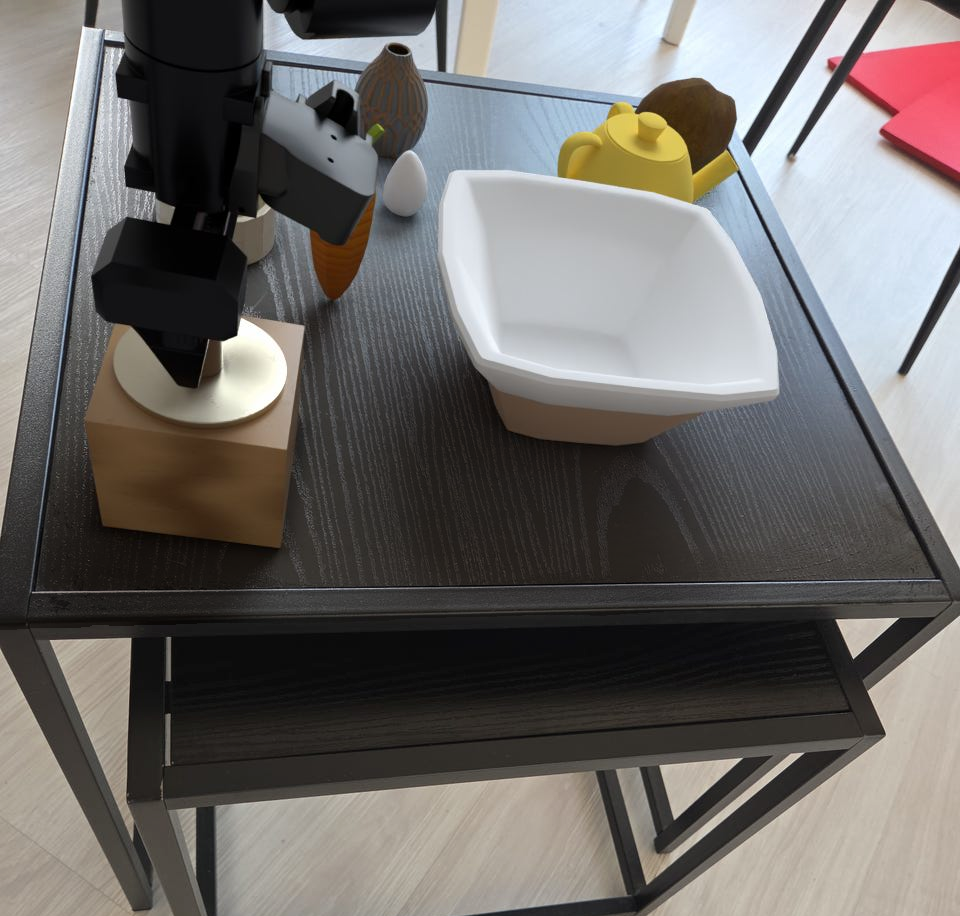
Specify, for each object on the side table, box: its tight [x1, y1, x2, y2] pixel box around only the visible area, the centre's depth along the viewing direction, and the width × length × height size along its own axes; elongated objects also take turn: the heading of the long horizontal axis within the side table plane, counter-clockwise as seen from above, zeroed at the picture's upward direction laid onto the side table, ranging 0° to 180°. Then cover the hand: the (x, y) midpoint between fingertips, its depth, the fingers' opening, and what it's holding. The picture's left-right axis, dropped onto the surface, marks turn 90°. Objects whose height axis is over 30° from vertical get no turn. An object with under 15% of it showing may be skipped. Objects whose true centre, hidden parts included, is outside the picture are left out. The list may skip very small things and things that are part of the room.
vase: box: [353, 41, 429, 159], centre depth 86 cm, size 7×7×9 cm
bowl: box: [437, 169, 780, 447], centre depth 71 cm, size 24×25×11 cm
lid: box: [113, 318, 287, 429], centre depth 54 cm, size 10×10×4 cm
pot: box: [154, 195, 277, 266], centre depth 75 cm, size 9×9×4 cm
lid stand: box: [83, 314, 306, 549], centre depth 59 cm, size 11×11×9 cm
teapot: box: [556, 101, 739, 204], centre depth 85 cm, size 14×14×11 cm
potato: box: [634, 77, 738, 175], centre depth 95 cm, size 8×12×9 cm
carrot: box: [309, 124, 385, 302], centre depth 69 cm, size 5×5×15 cm
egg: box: [382, 150, 429, 217], centre depth 82 cm, size 4×4×6 cm
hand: (201, 330), depth 53 cm, fingers open, 9 cm apart
